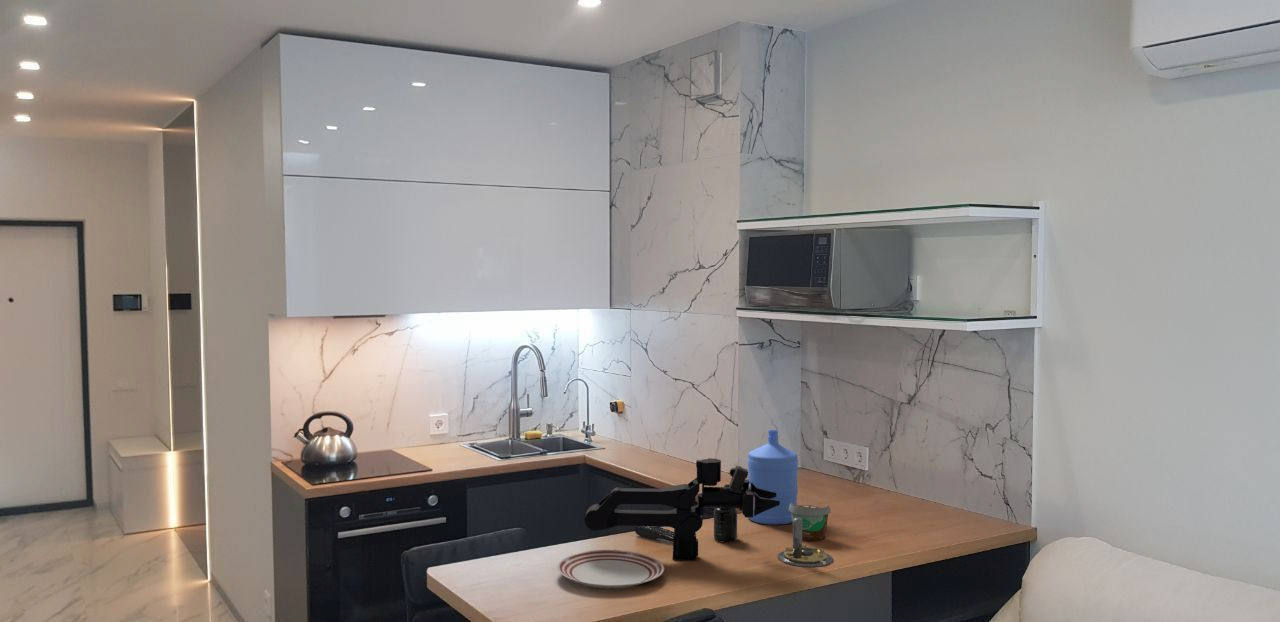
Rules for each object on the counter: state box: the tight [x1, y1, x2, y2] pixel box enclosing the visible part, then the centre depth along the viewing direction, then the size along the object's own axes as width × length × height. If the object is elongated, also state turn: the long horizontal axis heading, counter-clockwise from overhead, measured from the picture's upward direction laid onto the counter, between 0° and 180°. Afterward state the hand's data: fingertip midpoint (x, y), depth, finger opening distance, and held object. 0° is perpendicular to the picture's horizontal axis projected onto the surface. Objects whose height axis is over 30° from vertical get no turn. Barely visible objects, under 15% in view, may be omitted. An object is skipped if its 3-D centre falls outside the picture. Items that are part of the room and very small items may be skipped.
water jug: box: [747, 429, 799, 526], centre depth 309 cm, size 16×16×28 cm
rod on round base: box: [783, 518, 828, 563], centre depth 268 cm, size 12×12×12 cm
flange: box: [777, 547, 834, 568], centre depth 268 cm, size 15×15×2 cm
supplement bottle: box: [713, 508, 738, 543], centre depth 286 cm, size 7×7×12 cm
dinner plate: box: [556, 549, 665, 590], centre depth 252 cm, size 27×27×3 cm
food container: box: [789, 504, 832, 543], centre depth 286 cm, size 12×6×10 cm, turn 70°
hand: (777, 498), depth 267 cm, fingers open, 9 cm apart
